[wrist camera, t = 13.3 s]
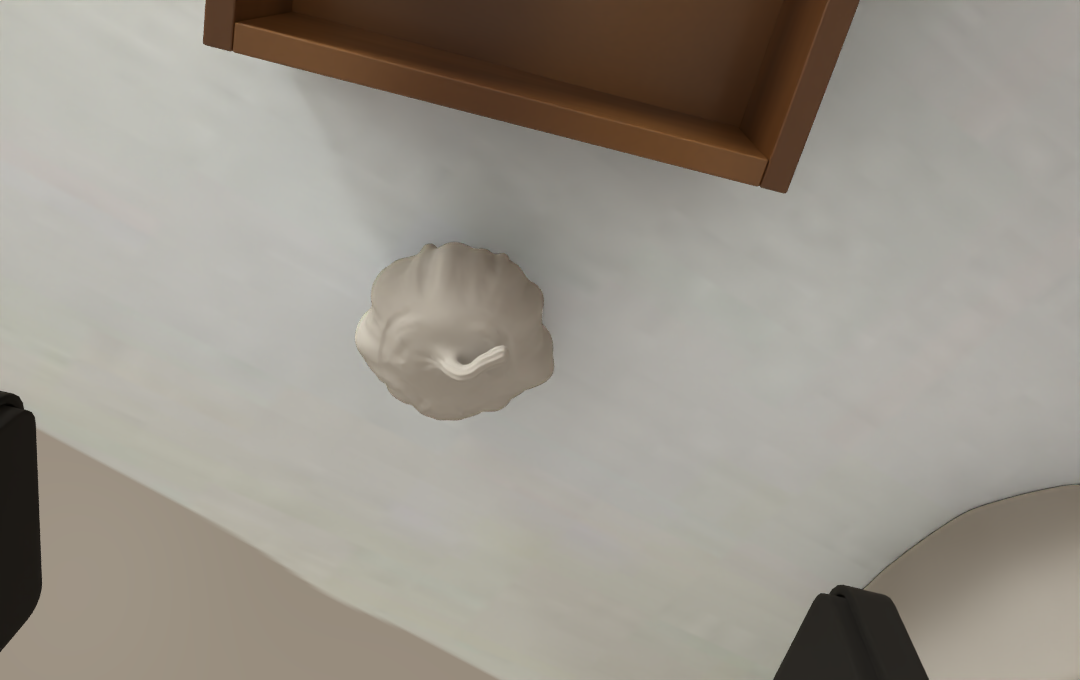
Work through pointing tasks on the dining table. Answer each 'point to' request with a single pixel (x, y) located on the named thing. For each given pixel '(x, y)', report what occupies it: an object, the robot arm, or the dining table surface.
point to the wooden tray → (579, 67)
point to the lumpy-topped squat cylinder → (995, 591)
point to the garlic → (456, 331)
